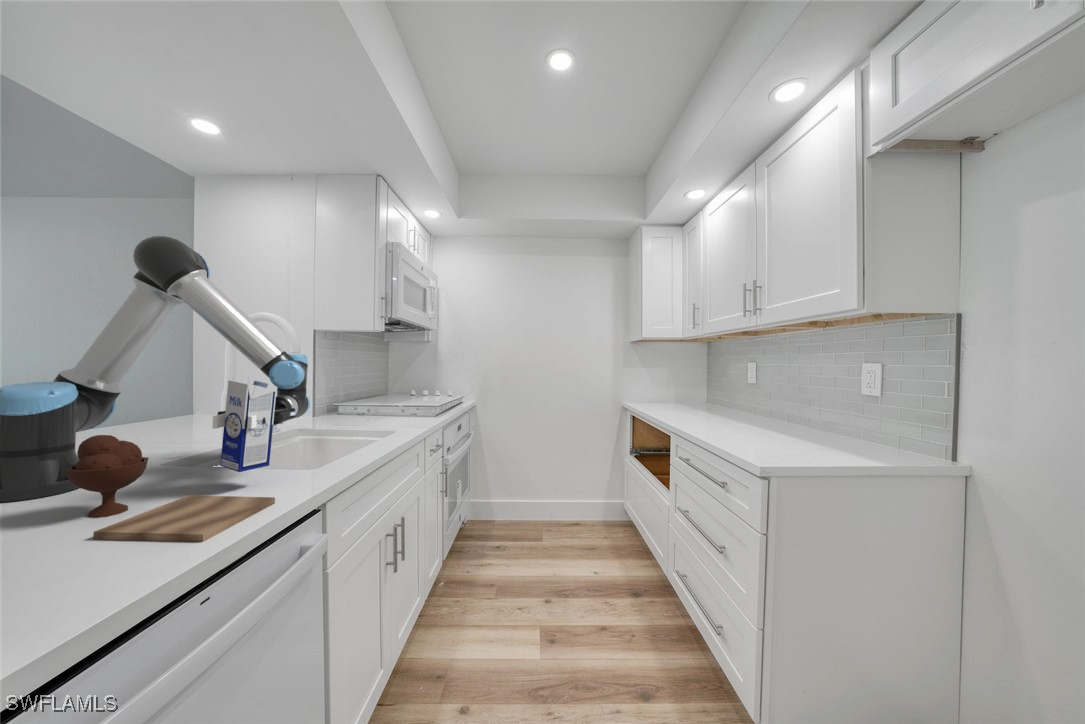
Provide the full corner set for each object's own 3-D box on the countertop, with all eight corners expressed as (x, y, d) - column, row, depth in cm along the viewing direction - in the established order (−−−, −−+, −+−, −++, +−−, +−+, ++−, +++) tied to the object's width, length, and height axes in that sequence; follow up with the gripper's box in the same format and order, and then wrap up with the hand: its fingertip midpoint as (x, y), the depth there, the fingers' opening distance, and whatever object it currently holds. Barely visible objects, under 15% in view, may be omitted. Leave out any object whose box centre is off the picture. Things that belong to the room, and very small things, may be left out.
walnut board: (93, 539, 66) (93, 531, 66) (188, 501, 84) (188, 495, 84) (203, 541, 66) (203, 534, 66) (274, 503, 84) (275, 497, 84)
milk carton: (219, 465, 92) (227, 379, 91) (250, 459, 98) (258, 378, 97) (239, 472, 89) (247, 383, 88) (269, 465, 95) (277, 382, 95)
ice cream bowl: (94, 526, 71) (96, 441, 71) (48, 519, 73) (50, 437, 73) (162, 505, 81) (164, 431, 81) (120, 500, 84) (121, 428, 83)
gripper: (314, 423, 113) (279, 439, 90) (237, 423, 109) (181, 439, 86) (315, 397, 113) (281, 406, 91) (238, 395, 109) (182, 404, 86)
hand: (232, 422), depth 88 cm, fingers closed on milk carton, 6 cm apart
